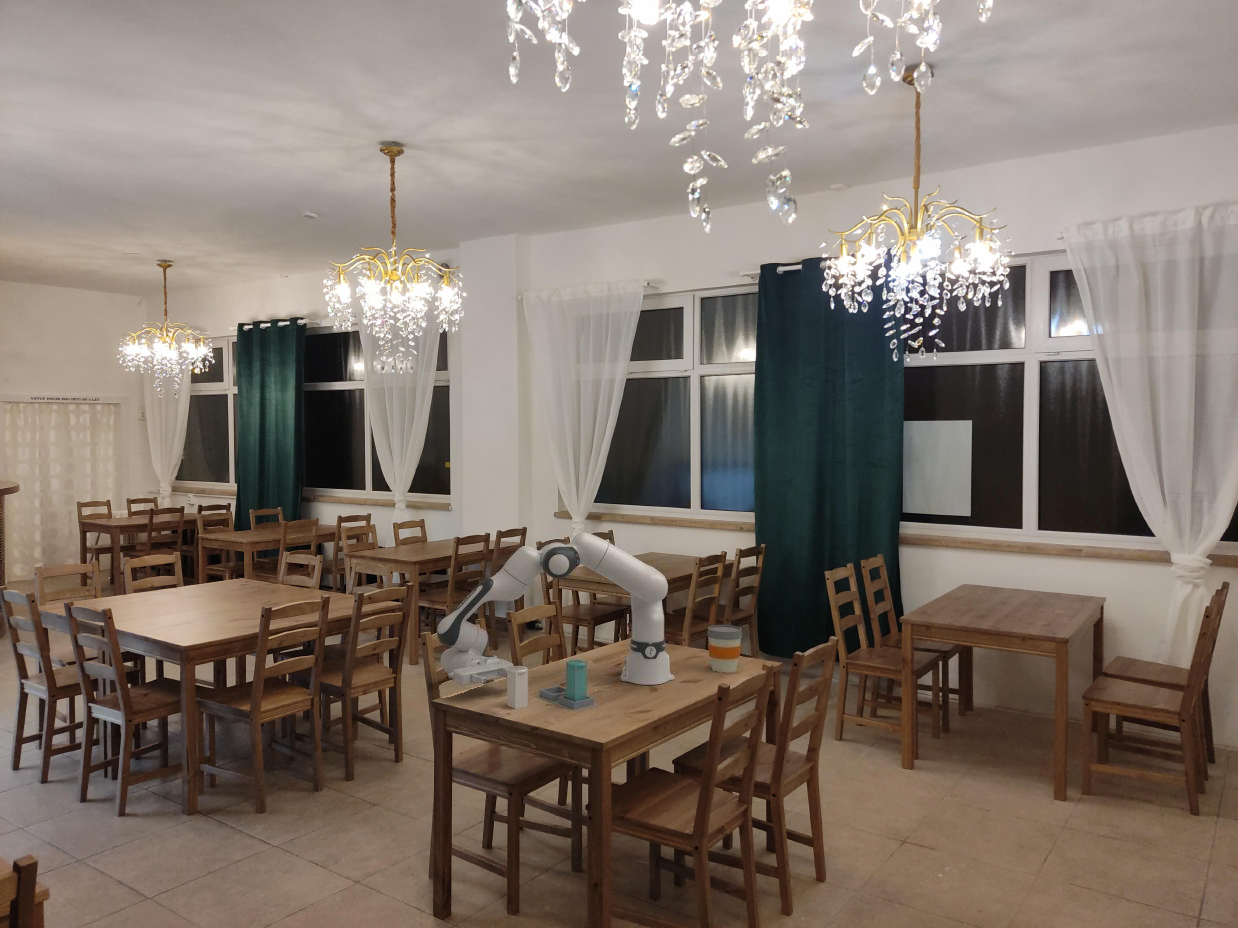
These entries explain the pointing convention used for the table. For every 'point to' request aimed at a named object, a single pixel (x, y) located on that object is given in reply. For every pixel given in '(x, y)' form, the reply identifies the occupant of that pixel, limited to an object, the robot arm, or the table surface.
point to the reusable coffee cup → (724, 647)
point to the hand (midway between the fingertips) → (496, 677)
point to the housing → (564, 698)
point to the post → (517, 687)
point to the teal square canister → (576, 680)
